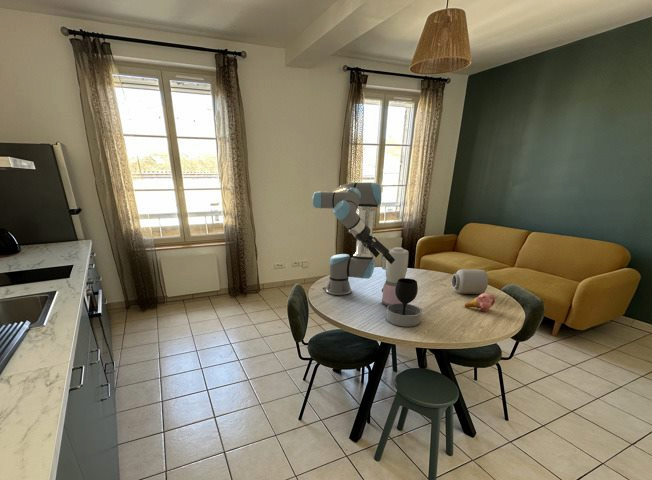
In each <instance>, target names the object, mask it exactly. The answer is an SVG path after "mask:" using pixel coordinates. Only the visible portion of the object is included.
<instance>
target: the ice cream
mask: <svg viewBox="0 0 652 480" xmlns="http://www.w3.org/2000/svg"><path fill="white" fill-rule="evenodd" d="M495 302H496V297H495V296H494V295H493V294H491V293H488V292H487V293H485V292H484V293H482V294H478V296H477V297H474V298H473V299H472V300H471V301H468V302H466V303H465V304H464V307H465V308H466V309H469V308H475V309H479V310H480V311H481V312H487V311H488V310H489V309H491V308H492V307H493V306H494V305H495Z"/></svg>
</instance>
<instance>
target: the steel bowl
mask: <svg viewBox="0 0 652 480" xmlns="http://www.w3.org/2000/svg"><path fill="white" fill-rule="evenodd" d="M386 306H387V307H386V314H385V318H386V320H387V321H388V322H389V323H390V324H392V325H395V326H397V327H406V328H410V327H415V326H418V325H419V324H420V323H421V321H422V312H423V311H422V309H421V308H420V307H419V306H417V305H414V304H411V303H408V304H406V307H405V315H400V314H402V313H403V303H395V304H391V305H386Z"/></svg>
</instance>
